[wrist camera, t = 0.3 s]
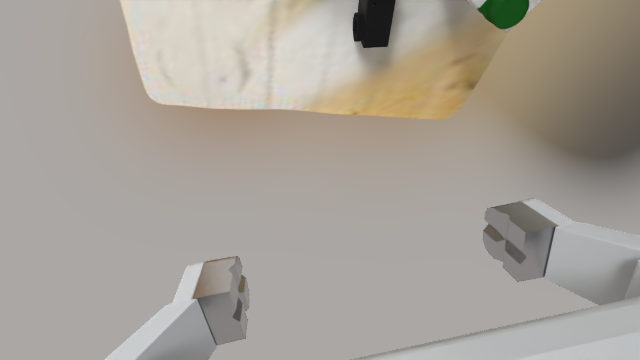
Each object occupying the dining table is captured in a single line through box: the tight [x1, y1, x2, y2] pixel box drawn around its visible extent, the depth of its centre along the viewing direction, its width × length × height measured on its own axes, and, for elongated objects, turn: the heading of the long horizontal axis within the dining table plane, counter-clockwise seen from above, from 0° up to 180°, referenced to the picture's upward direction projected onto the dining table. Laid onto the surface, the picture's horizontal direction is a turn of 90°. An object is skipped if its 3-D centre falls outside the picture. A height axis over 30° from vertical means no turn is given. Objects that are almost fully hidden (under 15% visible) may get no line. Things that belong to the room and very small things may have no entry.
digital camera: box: [353, 0, 395, 48], centre depth 52 cm, size 10×5×7 cm, turn 1°
